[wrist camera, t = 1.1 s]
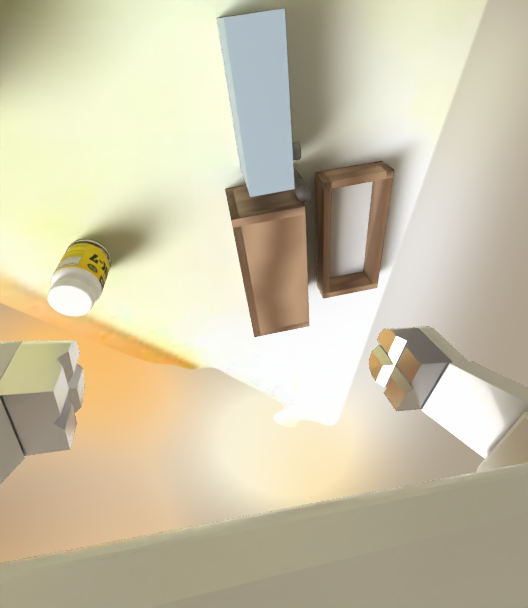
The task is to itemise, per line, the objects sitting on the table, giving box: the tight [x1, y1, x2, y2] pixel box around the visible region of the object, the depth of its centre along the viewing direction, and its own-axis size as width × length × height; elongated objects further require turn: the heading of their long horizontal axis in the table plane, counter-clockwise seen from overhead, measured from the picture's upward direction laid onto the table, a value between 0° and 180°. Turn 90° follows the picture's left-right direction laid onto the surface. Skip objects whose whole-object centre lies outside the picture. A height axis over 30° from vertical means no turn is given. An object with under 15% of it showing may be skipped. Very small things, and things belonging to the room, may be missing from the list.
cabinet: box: [225, 161, 394, 337], centre depth 39 cm, size 18×17×8 cm
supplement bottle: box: [48, 240, 111, 316], centre depth 36 cm, size 5×5×8 cm
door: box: [217, 9, 301, 197], centre depth 28 cm, size 5×12×8 cm, turn 6°
